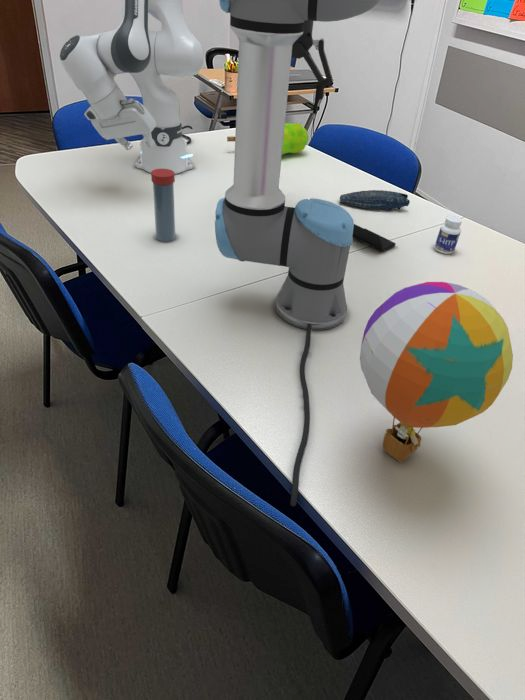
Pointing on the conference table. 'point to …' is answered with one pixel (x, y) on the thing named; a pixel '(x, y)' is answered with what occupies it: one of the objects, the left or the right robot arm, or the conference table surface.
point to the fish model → (376, 199)
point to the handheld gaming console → (372, 239)
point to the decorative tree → (291, 138)
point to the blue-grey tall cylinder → (164, 212)
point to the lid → (162, 176)
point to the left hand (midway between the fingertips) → (140, 147)
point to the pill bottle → (448, 235)
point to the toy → (434, 359)
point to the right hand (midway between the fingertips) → (288, 109)
